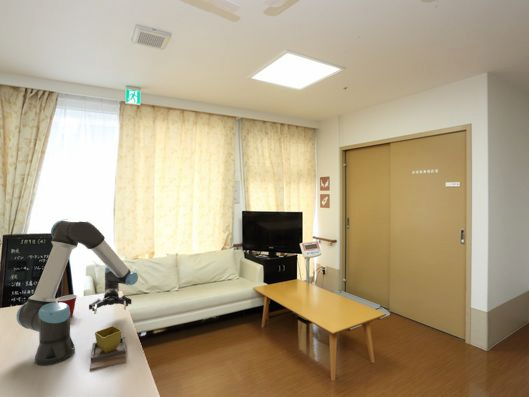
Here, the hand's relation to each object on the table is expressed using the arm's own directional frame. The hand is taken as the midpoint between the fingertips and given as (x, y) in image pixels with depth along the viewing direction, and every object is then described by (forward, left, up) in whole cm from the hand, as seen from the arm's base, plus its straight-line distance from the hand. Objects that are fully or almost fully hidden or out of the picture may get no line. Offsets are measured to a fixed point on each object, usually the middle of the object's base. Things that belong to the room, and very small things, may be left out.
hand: (110, 309), depth 153 cm
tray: (-10, -11, -16) cm, 22 cm away
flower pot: (-9, -9, -15) cm, 19 cm away
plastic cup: (+9, +48, -16) cm, 52 cm away
